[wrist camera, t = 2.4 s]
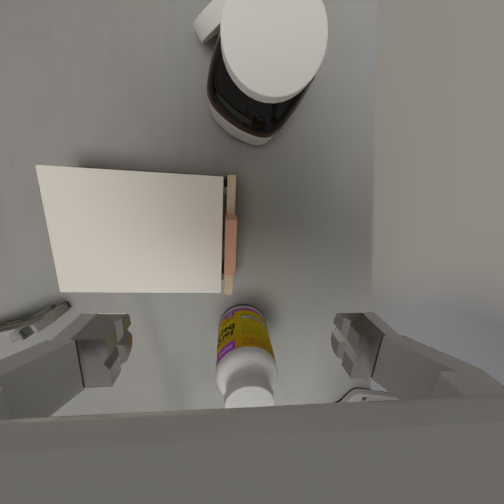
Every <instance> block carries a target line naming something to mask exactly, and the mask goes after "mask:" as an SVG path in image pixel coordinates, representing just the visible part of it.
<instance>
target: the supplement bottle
mask: <svg viewBox="0 0 504 504" xmlns="http://www.w3.org/2000/svg"><path fill="white" fill-rule="evenodd" d="M277 377H278V370H277V365H276V361H275V357H274V354H273V350H272V346H271V342H270V338H269V334H268V330H267V326H266V323H265V320H264V317H263V315H262V314H261V313H260V312H259V311H258V310H257V309H255V308H253V307H250V306H236V307H233V308H231V309H230V310H228V311H227V312H226V313H225V314H224V315H223V316H222V318H221V320H220V323H219V331H218V347H217V363H216V382H217V386H218V388H219V390H220V391H221V393H222V394H223V395H224V408H243V407H264V406H274V405H275V400H274V394H273V388H274V386H275V384H276V381H277Z"/></svg>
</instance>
